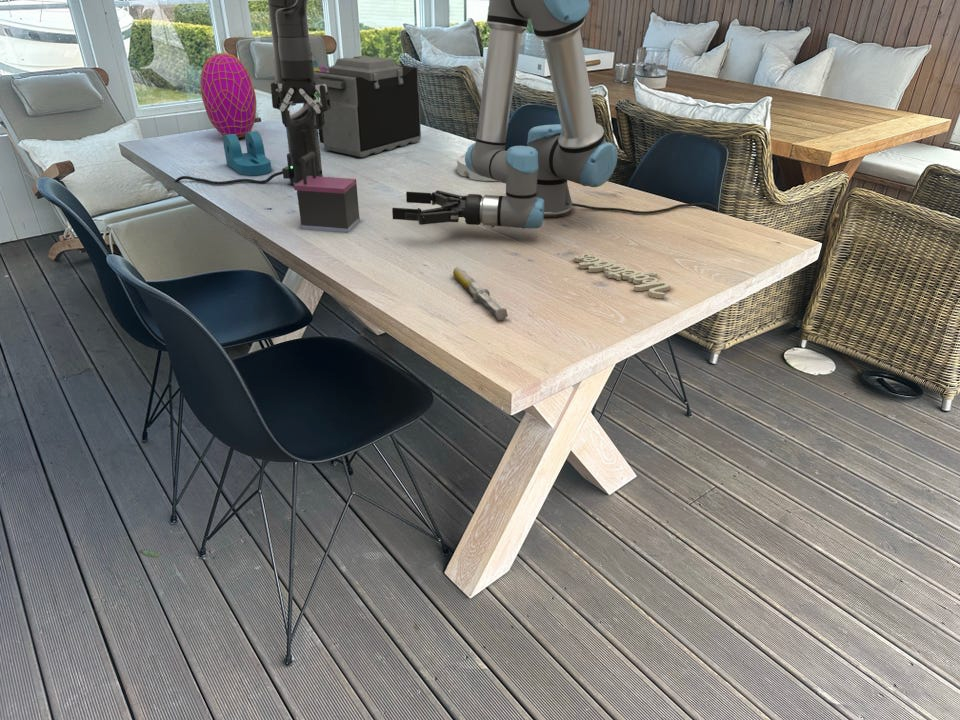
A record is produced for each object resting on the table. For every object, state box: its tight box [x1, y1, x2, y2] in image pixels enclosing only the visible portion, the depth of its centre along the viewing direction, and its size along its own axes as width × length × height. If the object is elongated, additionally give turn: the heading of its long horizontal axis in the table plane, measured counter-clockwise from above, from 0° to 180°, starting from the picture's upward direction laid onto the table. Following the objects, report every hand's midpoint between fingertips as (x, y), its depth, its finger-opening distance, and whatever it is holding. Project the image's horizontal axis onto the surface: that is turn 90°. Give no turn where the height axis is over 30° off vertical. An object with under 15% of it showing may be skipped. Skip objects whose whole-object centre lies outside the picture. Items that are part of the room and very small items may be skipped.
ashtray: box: [456, 153, 498, 182], centre depth 228 cm, size 23×23×4 cm
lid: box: [293, 152, 358, 194], centre depth 176 cm, size 13×9×8 cm
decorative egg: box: [200, 52, 257, 139], centre depth 259 cm, size 19×19×30 cm
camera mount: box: [222, 131, 272, 176], centre depth 226 cm, size 18×10×10 cm, turn 35°
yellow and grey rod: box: [452, 266, 509, 321], centre depth 145 cm, size 25×4×3 cm, turn 21°
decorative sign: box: [574, 252, 671, 299], centre depth 155 cm, size 26×1×10 cm
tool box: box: [314, 55, 422, 159], centre depth 250 cm, size 37×22×30 cm, turn 144°
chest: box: [296, 183, 361, 233], centre depth 180 cm, size 13×9×10 cm
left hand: (304, 127), depth 171 cm, fingers open, 8 cm apart
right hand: (399, 204), depth 175 cm, fingers open, 13 cm apart
